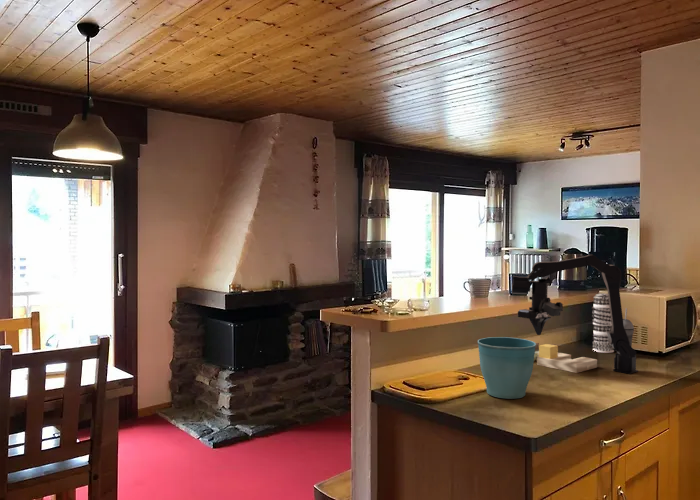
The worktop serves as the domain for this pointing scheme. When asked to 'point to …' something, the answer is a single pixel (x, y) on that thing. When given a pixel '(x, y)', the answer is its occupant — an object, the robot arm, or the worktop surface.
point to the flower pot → (506, 365)
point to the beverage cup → (628, 328)
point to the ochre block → (548, 351)
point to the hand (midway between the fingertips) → (538, 334)
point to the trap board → (565, 362)
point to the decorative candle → (601, 323)
